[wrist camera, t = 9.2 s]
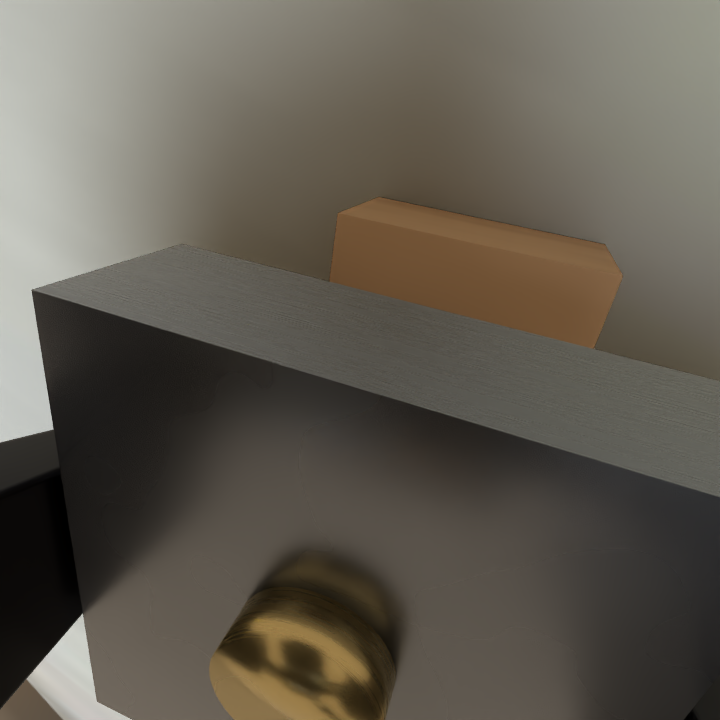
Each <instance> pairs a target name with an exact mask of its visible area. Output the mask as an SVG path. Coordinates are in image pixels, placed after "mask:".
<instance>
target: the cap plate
mask: <svg viewBox="0 0 720 720" xmlns="http://www.w3.org/2000/svg"><path fill="white" fill-rule="evenodd" d="M32 295H33V302H34V308H35V314H36V321H37V327H38V333H39V340H40V346H41V352H42V358H43V365H44V371H45V377H46V384H47V390H48V396H49V403H50V409H51V415H52V421H53V428H54V434H55V440H56V447H57V453H58V459H59V465H60V472H61V478H62V484H63V491H64V497H65V503H66V510H67V516H68V522H69V528H70V535H71V541H72V547H73V554H74V560H75V566H76V572H77V579H78V585H79V591H80V598H81V604H82V610H83V617H84V623H85V629H86V635H87V642H88V648H89V654H90V661H91V667H92V673H93V680H94V686H95V692H96V698H97V702H99V703H101V704H103V705H105V706H107V707H109V708H111V709H113V710H115V711H117V712H119V713H121V714H122V715H124V716H126V717H128V718H130V719H132V720H684V719H685V717H686V716H687V715H688V714H689V712H690V711H691V710H692V709H693V707H694V706H695V705H696V704H697V702H698V701H699V700H700V699H701V697H702V696H703V695H704V694H705V692H706V691H707V690H708V688H709V687H710V686H711V685H712V683H713V682H714V681H715V680H716V678H717V677H718V676H719V675H720V381H718V380H714V379H710V378H706V377H702V376H698V375H694V374H690V373H686V372H682V371H678V370H674V369H670V368H667V367H663V366H659V365H655V364H651V363H647V362H643V361H639V360H635V359H631V358H627V357H623V356H620V355H616V354H612V353H608V352H604V351H600V350H596V349H592V348H588V347H584V346H580V345H576V344H572V343H569V342H565V341H561V340H557V339H553V338H549V337H545V336H541V335H537V334H533V333H529V332H525V331H521V330H518V329H514V328H510V327H506V326H502V325H498V324H494V323H490V322H486V321H482V320H478V319H474V318H470V317H467V316H463V315H459V314H455V313H451V312H447V311H443V310H439V309H435V308H431V307H427V306H423V305H419V304H416V303H412V302H408V301H404V300H400V299H396V298H392V297H388V296H384V295H380V294H376V293H372V292H368V291H365V290H361V289H357V288H353V287H349V286H345V285H341V284H337V283H333V282H329V281H325V280H321V279H317V278H314V277H310V276H306V275H302V274H298V273H294V272H290V271H286V270H282V269H278V268H274V267H270V266H266V265H263V264H259V263H255V262H251V261H247V260H243V259H239V258H235V257H231V256H227V255H223V254H219V253H216V252H212V251H208V250H204V249H200V248H196V247H192V246H188V245H184V244H180V245H176V246H173V247H170V248H167V249H163V250H160V251H157V252H153V253H150V254H147V255H144V256H140V257H137V258H134V259H131V260H127V261H124V262H121V263H117V264H114V265H111V266H108V267H104V268H101V269H98V270H95V271H91V272H88V273H85V274H82V275H78V276H75V277H72V278H68V279H65V280H62V281H59V282H55V283H52V284H49V285H46V286H42V287H39V288H36V289H32Z"/></svg>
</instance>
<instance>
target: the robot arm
mask: <svg viewBox="0 0 720 720" xmlns="http://www.w3.org/2000/svg"><path fill="white" fill-rule="evenodd" d="M82 613H83V610H82V604H81V598H80V591H79V585H78V579H77V572H76V566H75V560H74V554H73V547H72V541H71V535H70V528H69V522H68V516H67V510H66V503H65V497H64V491H63V484H62V478H61V472H60V465H59V459H58V453H57V447H56V440H55V434H54V430H50V431H46V432H42V433H37V434H33V435H29V436H25V437H21V438H17V439H13V440H9V441H5V442H1V443H0V709H1V708H2V707H3V705H4V704H5V703H6V702H7V701H8V700H9V698H10V697H11V696H12V695H13V694H14V693H15V691H16V690H17V689H18V688H19V687H20V686H21V685H22V683H23V682H24V681H25V680H26V679H27V678H28V676H29V675H30V674H31V673H32V672H33V671H34V669H35V668H36V667H37V666H38V665H39V664H40V662H41V661H42V660H43V659H44V658H45V657H46V655H47V654H48V653H49V652H50V651H51V650H52V648H53V647H54V646H55V645H56V644H57V643H58V641H59V640H60V639H61V638H62V637H63V636H64V634H65V633H66V632H67V631H68V630H69V629H70V627H71V626H72V625H73V624H74V623H75V622H76V620H77V619H78V618H79V617H80V616H81V615H82ZM684 720H720V675H719V676H718V677H717V678H716V680H715V681H714V682H713V683H712V685H711V686H710V687H709V688H708V690H707V691H706V692H705V694H704V695H703V696H702V697H701V699H700V700H699V701H698V702H697V704H696V705H695V706H694V707H693V709H692V710H691V711H690V712H689V714H688V715H687V716H686V717H685V719H684Z"/></svg>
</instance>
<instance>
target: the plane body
mask: <svg viewBox="0 0 720 720" xmlns="http://www.w3.org/2000/svg"><path fill="white" fill-rule="evenodd" d="M622 278H623V275H622V273H621V272H620V270H619V268H618V266H617V265H616V263H615V261H614V259H613V258H612V256H611V254H610V252H609V251H608V249H607V247H606V245H605V244H600V243H596V242H591V241H586V240H581V239H577V238H572V237H567V236H562V235H558V234H553V233H548V232H543V231H539V230H534V229H529V228H524V227H519V226H515V225H510V224H505V223H500V222H496V221H491V220H486V219H481V218H477V217H472V216H467V215H462V214H458V213H453V212H448V211H443V210H438V209H434V208H429V207H424V206H419V205H415V204H410V203H405V202H400V201H396V200H391V199H386V198H381V197H377V198H375V199H372V200H370V201H367V202H365V203H362V204H359V205H357V206H354V207H352V208H349V209H347V210H344V211H342V212H339V213H338V215H337V223H336V231H335V239H334V247H333V255H332V263H331V271H330V279H329V282H333V283H337V284H341V285H345V286H349V287H353V288H357V289H361V290H365V291H368V292H372V293H376V294H380V295H384V296H388V297H392V298H396V299H400V300H404V301H408V302H412V303H416V304H419V305H423V306H427V307H431V308H435V309H439V310H443V311H447V312H451V313H455V314H459V315H463V316H467V317H470V318H474V319H478V320H482V321H486V322H490V323H494V324H498V325H502V326H506V327H510V328H514V329H518V330H521V331H525V332H529V333H533V334H537V335H541V336H545V337H549V338H553V339H557V340H561V341H565V342H569V343H572V344H576V345H580V346H584V347H588V348H592V349H594V347H595V345H596V342H597V340H598V337H599V335H600V332H601V330H602V327H603V325H604V322H605V320H606V317H607V315H608V312H609V310H610V307H611V305H612V303H613V300H614V298H615V295H616V293H617V290H618V288H619V285H620V283H621V280H622Z"/></svg>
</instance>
